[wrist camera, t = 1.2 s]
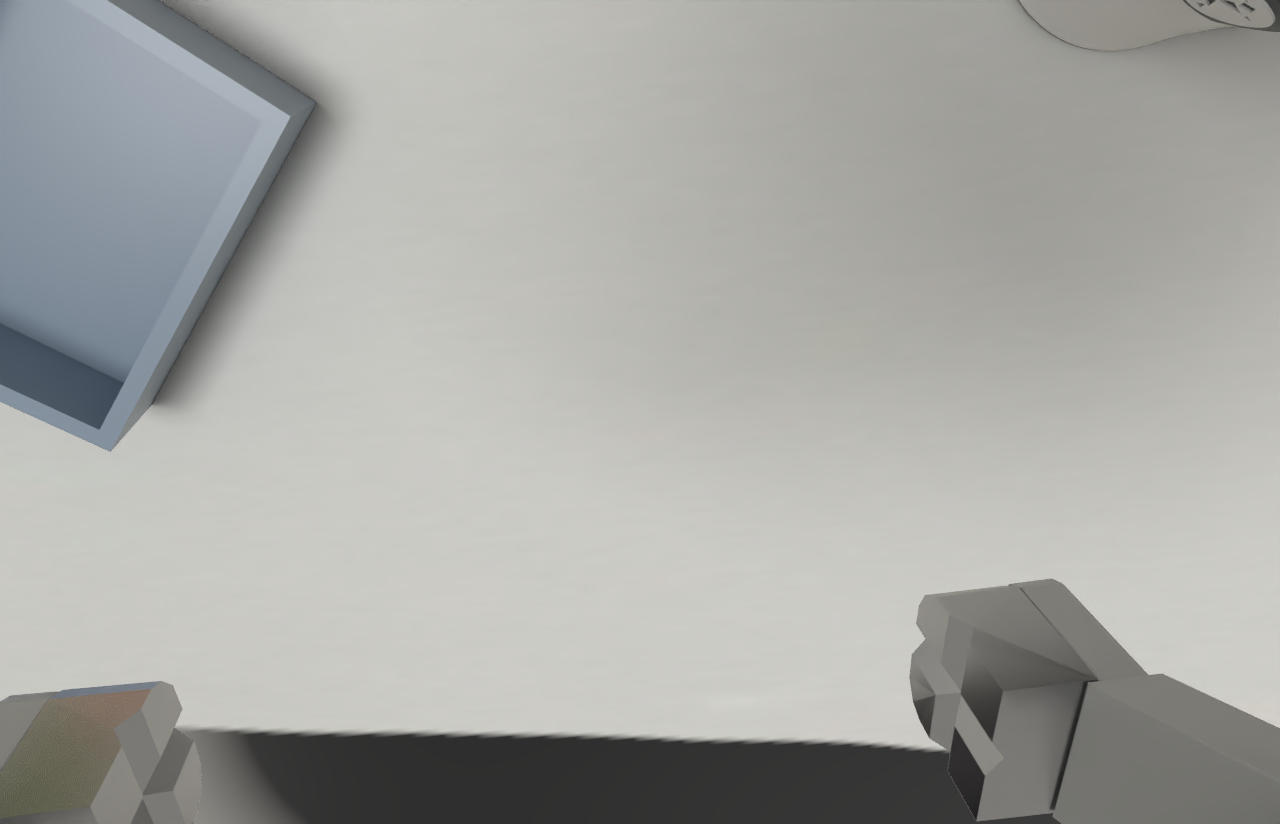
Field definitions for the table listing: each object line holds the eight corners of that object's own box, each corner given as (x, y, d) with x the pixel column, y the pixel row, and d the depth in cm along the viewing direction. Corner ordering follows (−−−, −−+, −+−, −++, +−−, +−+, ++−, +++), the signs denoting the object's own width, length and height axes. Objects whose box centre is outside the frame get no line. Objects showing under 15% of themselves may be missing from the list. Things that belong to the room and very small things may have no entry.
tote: (-9, -108, 34) (-88, -123, 30) (316, 102, 39) (290, 116, 34) (-152, 259, 39) (-238, 293, 35) (151, 405, 44) (110, 451, 39)
